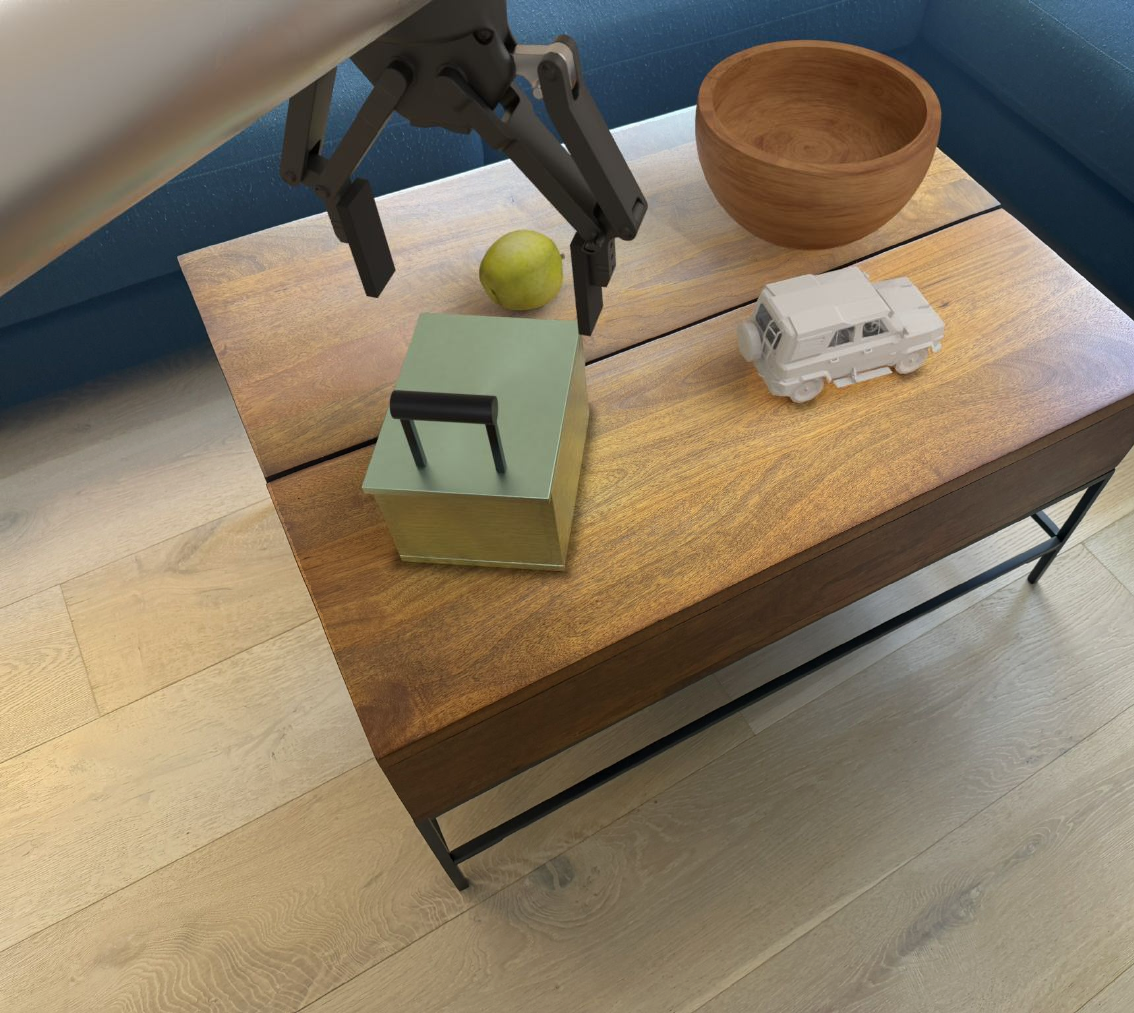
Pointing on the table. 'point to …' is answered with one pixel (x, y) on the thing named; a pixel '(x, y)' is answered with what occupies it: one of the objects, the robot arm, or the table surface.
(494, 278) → the apple
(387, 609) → the table surface
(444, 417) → the freezer lid
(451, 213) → the table surface
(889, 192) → the bowl
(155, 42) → the robot arm
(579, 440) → the freezer
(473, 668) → the table surface
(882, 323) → the toy car
